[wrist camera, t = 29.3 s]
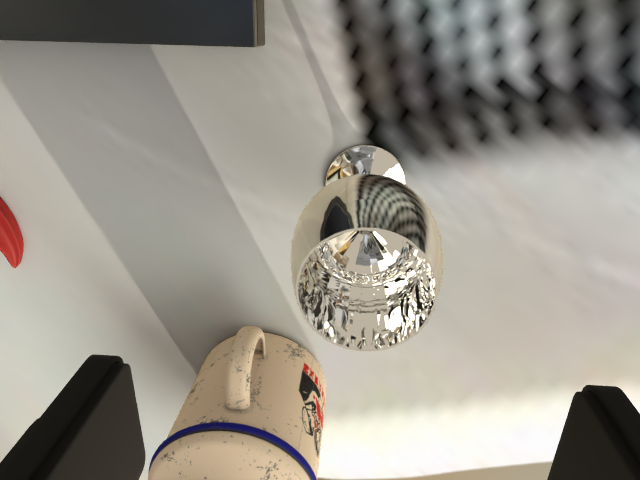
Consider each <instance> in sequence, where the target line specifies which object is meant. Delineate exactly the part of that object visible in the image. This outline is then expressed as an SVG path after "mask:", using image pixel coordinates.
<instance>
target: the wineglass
mask: <svg viewBox="0 0 640 480" xmlns="http://www.w3.org/2000/svg"><path fill="white" fill-rule="evenodd" d="M442 273H443V250H442V240H441V236H440V232H439V229H438V225H437V222H436V220H435V218H434V216H433V214H432V212H431V210H430V209H429V207H428V206H427V205H426V203H425V202H424V201H423V200H422V199H421V198H420V197H419V196H418V195H417V194H416V193H415V192H414V191H413V190H412V189H411V188H410V187H408V186H407V185H406V178H405V173H404V170H403V168H402V165H401V164H400V162H399V161H398V159H397V158H396V157H395V156H394V155H393V154H392V153H390V152H389V151H387V150H385V149H383V148H381V147H377V146H374V145H359V146H354V147H351V148H349V149H347V150H345V151H343V152H342V153H341V154H339V155H338V156H337V157H336V158H335V159H334V161H333V162H332V163H331V165H330V167H329V169H328V171H327V175H326V182H325V187H324V188H323V189H321V190H320V191H319V192H318V193H317V194H316V195H315V196H314V197H313V198H312V199H311V200H310V201H309V203H308V204H307V205H306V206H305V208H304V209H303V211H302V213H301V215H300V217H299V219H298V221H297V224H296V227H295V230H294V234H293V238H292V244H291V274H292V282H293V287H294V292H295V296H296V299H297V303H298V306H299V308H300V310H301V313H302V315H303V317H304V319H305V320H306V321H307V322H308V324H309V325H310V326H311V328H312V329H313V330H314V331H315V332H317V333H318V334H319V335H320V336H322V337H323V338H324V339H326V340H327V341H329V342H331V343H333V344H335V345H337V346H340V347H343V348H346V349H351V350H356V351H378V350H384V349H388V348H392V347H395V346H397V345H399V344H402V343H404V342H406V341H408V340H409V339H410V338H412V337H413V336H415V335H416V334H417V333H418V332H419V331H420V330H421V329H422V328H423V327H424V326H425V325H426V324H427V322H428V321H429V319H430V317H431V315H432V313H433V312H434V309H435V305H436V302H437V298H438V295H439V292H440V287H441V280H442Z"/></svg>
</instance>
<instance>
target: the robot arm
mask: <svg viewBox="0 0 640 480" xmlns="http://www.w3.org/2000/svg"><path fill="white" fill-rule="evenodd" d="M144 464H145V449H144V443H143V437H142V431H141V426H140V420H139V414H138V408H137V403H136V397H135V391H134V385H133V380H132V374H131V369H130V366H129V364H125V363H123V360H122V358H121V357H119V356H109V355H91V356H90V357H88V358H87V360H86V361H85V362H84V363H83V365H82V366H81V367H80V368H79V370H78V371H77V372H76V373H75V375H74V376H73V377H72V378H71V380H70V381H69V382H68V383H67V385H66V386H65V387H64V388H63V390H62V391H61V392H60V393H59V395H58V396H57V397H56V398H55V400H54V401H53V402H52V403H51V404H50V406H49V407H48V408H47V409H46V411H45V412H44V413H43V414H42V416H41V417H40V418H39V419H37V420H36V421H35V422H34V423H33V424H32V425H31V426H30V427H29V428H28V429H27V431H26V432H25V433H24V434H23V436H22V437H21V438H20V439H19V441H18V442H17V443H16V444H15V445H14V447H13V448H12V449H11V450H10V452H9V453H8V454H7V455H6V457H5V458H4V459H3V460H2V462H1V463H0V480H139V477H140V475H141V473H142V471H143V468H144ZM548 480H640V414H639V412H638V411H637V410H636V408H635V407H634V406H633V404H632V403H631V402H630V400H629V399H628V398H627V396H626V395H625V393H624V392H623V391H622V390H621V389H620V388H618V387H613V386H597V385H586V386H585V387H584V388H583V390H582V392H576V393H575V395H574V397H573V400H572V403H571V406H570V409H569V413H568V416H567V419H566V422H565V425H564V428H563V432H562V435H561V438H560V441H559V444H558V448H557V451H556V454H555V457H554V460H553V463H552V467H551V470H550V473H549V476H548Z"/></svg>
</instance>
